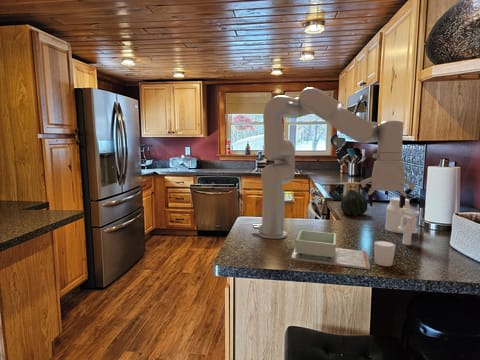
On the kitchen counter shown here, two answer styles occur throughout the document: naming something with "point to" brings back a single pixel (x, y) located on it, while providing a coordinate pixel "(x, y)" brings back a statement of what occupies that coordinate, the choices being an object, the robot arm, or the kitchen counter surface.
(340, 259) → the white flat board
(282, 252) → the kitchen counter surface
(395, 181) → the robot arm
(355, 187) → the candy box
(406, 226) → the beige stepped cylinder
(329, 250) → the pale green open box
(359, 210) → the squash
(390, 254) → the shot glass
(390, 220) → the jar
